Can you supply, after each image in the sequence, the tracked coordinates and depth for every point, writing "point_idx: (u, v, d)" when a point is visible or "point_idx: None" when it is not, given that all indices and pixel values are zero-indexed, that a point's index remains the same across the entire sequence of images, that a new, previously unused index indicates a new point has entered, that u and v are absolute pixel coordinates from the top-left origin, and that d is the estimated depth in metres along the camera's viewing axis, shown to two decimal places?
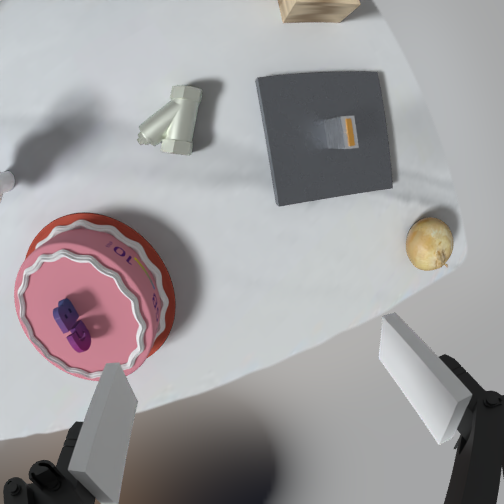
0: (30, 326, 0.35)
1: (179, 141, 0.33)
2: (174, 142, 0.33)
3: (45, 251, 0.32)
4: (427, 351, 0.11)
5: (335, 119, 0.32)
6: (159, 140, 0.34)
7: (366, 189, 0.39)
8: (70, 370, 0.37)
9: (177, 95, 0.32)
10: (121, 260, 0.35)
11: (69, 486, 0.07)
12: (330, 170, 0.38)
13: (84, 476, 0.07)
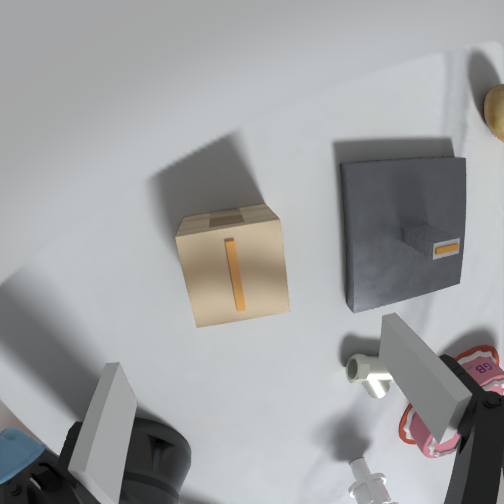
0: None
1: None
2: None
3: (428, 443, 0.40)
4: (427, 351, 0.11)
5: None
6: (388, 382, 0.38)
7: (464, 192, 0.31)
8: None
9: (362, 380, 0.36)
10: None
11: (69, 486, 0.07)
12: None
13: (84, 476, 0.07)
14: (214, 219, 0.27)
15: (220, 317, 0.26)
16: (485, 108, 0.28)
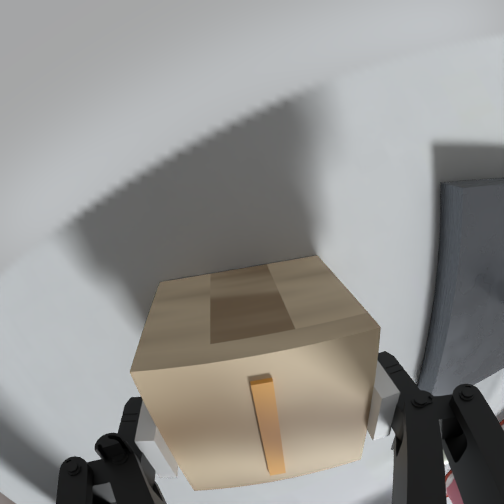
0: None
1: None
2: None
3: None
4: None
5: None
6: None
7: None
8: None
9: None
10: None
11: (136, 462, 0.08)
12: None
13: (151, 446, 0.09)
14: (220, 304, 0.12)
15: (237, 480, 0.11)
16: None
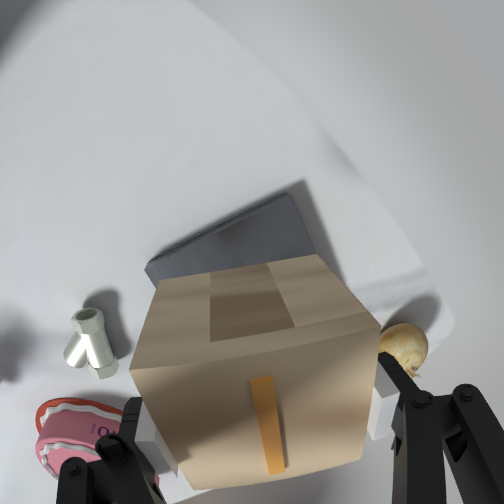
0: None
1: (100, 369, 0.32)
2: (97, 371, 0.32)
3: (48, 442, 0.32)
4: None
5: None
6: (85, 363, 0.33)
7: None
8: None
9: (78, 330, 0.30)
10: None
11: (136, 462, 0.08)
12: None
13: (151, 446, 0.09)
14: (220, 302, 0.12)
15: (236, 480, 0.11)
16: (394, 325, 0.37)
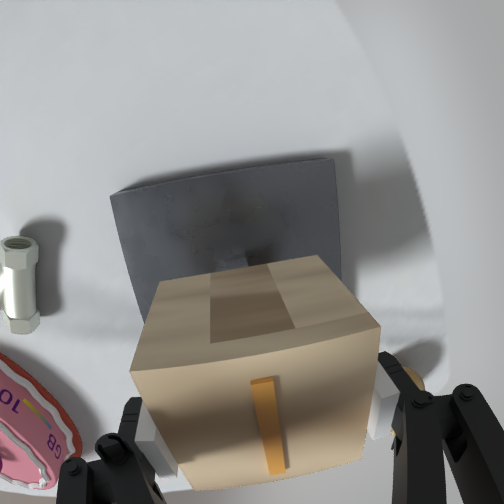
0: None
1: (15, 320, 0.21)
2: (9, 322, 0.21)
3: None
4: None
5: None
6: (1, 307, 0.22)
7: None
8: None
9: (2, 260, 0.19)
10: (5, 412, 0.22)
11: (136, 462, 0.08)
12: None
13: (151, 446, 0.09)
14: (220, 303, 0.12)
15: (237, 480, 0.11)
16: None
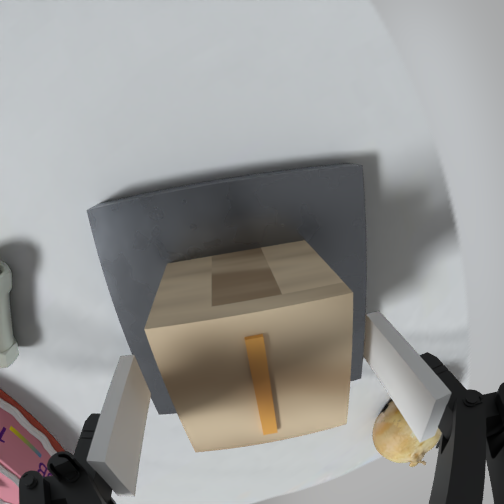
0: None
1: None
2: None
3: None
4: (408, 349, 0.12)
5: None
6: None
7: None
8: None
9: None
10: None
11: (88, 478, 0.07)
12: None
13: (103, 466, 0.08)
14: (220, 278, 0.15)
15: (234, 440, 0.14)
16: None
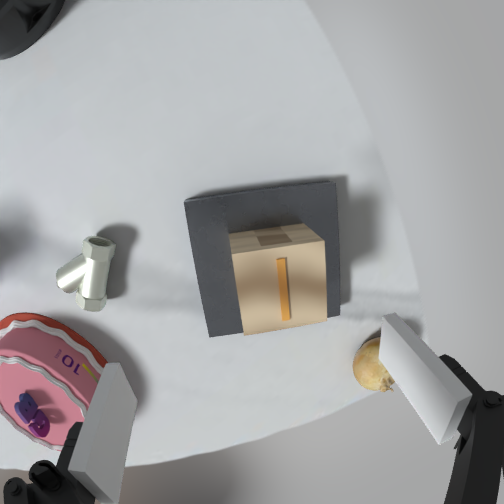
0: None
1: (89, 300, 0.32)
2: (85, 301, 0.32)
3: (4, 354, 0.30)
4: (427, 351, 0.11)
5: None
6: (74, 290, 0.33)
7: None
8: (35, 440, 0.34)
9: (86, 253, 0.31)
10: (68, 373, 0.32)
11: (69, 486, 0.07)
12: None
13: (84, 476, 0.07)
14: (261, 237, 0.30)
15: (266, 326, 0.29)
16: (380, 337, 0.40)
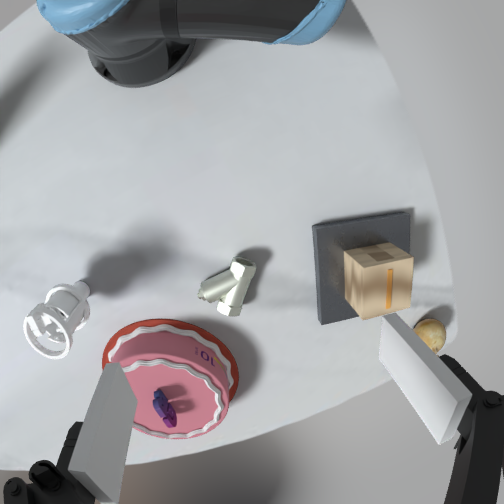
0: None
1: (233, 307, 0.45)
2: (230, 308, 0.45)
3: (143, 358, 0.43)
4: (427, 351, 0.11)
5: None
6: (216, 300, 0.46)
7: None
8: (151, 433, 0.48)
9: (237, 272, 0.44)
10: (209, 365, 0.45)
11: (69, 486, 0.07)
12: None
13: (84, 476, 0.07)
14: (371, 254, 0.43)
15: (376, 312, 0.42)
16: (428, 319, 0.53)
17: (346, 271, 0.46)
